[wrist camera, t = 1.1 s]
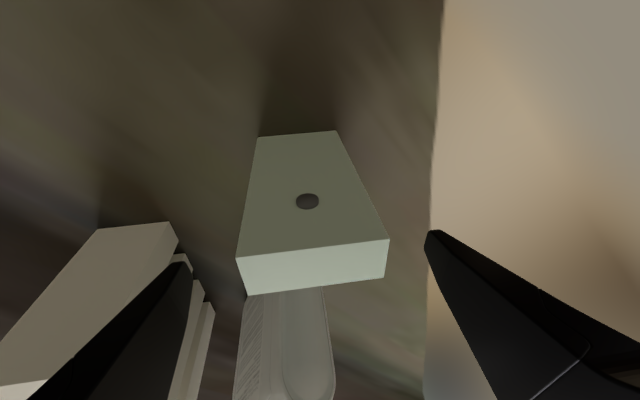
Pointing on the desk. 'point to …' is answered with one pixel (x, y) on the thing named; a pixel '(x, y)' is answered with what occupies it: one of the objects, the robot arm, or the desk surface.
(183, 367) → the domino
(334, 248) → the domino
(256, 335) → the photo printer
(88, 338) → the domino
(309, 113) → the desk surface
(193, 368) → the domino
